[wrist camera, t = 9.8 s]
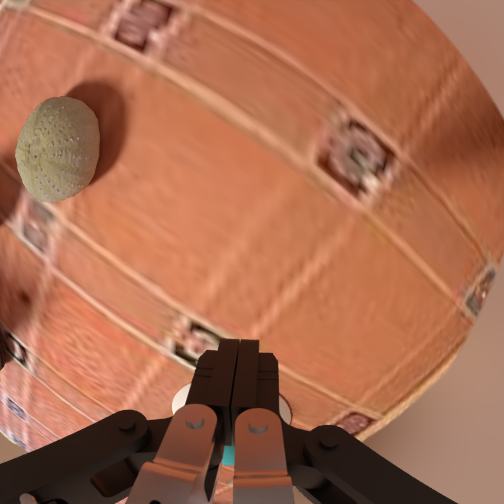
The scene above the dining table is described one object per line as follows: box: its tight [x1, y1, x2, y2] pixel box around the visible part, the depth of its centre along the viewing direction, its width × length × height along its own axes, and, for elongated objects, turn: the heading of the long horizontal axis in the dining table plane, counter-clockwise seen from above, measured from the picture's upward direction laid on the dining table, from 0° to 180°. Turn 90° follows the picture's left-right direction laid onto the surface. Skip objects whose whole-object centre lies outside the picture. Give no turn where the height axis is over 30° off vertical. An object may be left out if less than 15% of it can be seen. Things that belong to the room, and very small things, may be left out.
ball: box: [222, 440, 235, 465], centre depth 29 cm, size 6×6×6 cm
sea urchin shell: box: [15, 96, 100, 203], centre depth 20 cm, size 9×8×8 cm
